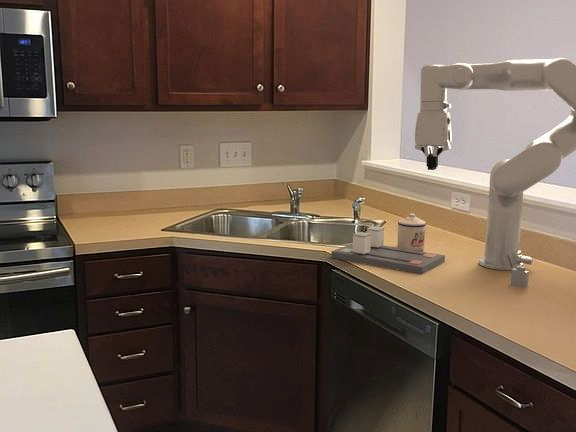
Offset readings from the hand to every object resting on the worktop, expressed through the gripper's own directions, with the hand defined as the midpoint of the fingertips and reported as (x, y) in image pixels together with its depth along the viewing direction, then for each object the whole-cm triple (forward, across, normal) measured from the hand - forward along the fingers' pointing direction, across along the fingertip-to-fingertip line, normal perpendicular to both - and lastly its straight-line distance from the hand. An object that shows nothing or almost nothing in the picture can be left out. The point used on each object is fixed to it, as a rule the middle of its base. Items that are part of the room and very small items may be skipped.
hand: (432, 169), depth 197 cm
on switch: (+25, +17, +3) cm, 30 cm away
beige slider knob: (+25, +17, +13) cm, 33 cm away
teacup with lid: (+28, +10, -11) cm, 32 cm away
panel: (+27, +11, +8) cm, 31 cm away
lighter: (+29, -28, +12) cm, 42 cm away
